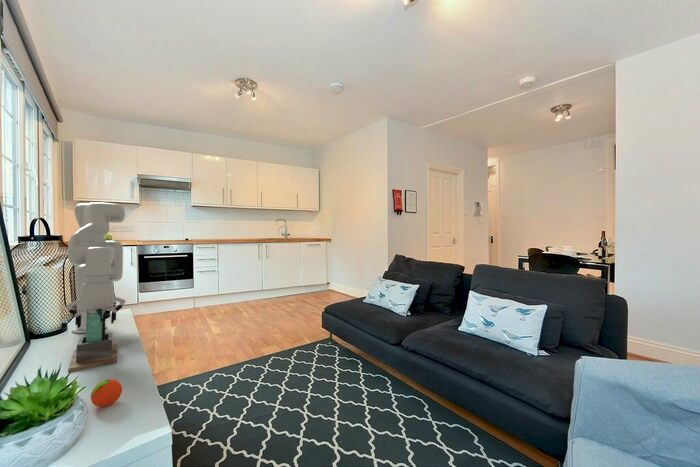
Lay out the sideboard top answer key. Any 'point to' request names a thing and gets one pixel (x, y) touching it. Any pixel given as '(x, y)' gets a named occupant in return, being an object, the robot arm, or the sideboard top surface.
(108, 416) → the sideboard top surface
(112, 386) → the tomato
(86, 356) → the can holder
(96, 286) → the robot arm
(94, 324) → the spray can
